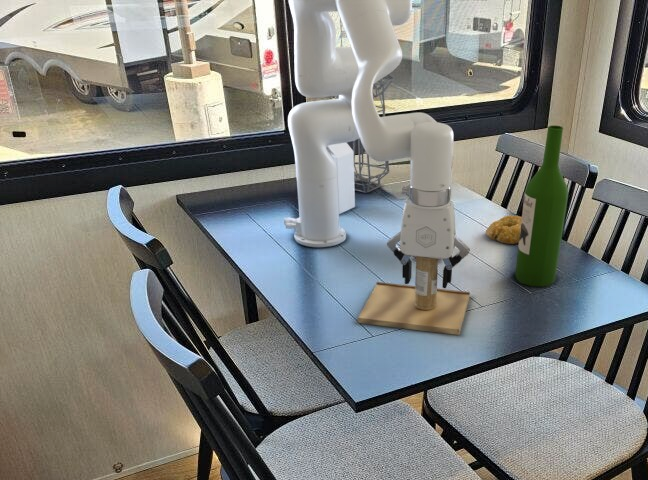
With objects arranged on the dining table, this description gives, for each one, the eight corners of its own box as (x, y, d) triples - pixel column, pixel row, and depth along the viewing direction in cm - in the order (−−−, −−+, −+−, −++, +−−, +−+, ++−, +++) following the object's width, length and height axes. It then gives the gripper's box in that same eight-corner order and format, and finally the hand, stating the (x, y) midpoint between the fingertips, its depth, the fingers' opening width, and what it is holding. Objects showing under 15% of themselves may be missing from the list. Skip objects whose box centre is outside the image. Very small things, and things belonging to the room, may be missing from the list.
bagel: (484, 229, 176) (485, 211, 173) (526, 231, 176) (529, 213, 173) (486, 244, 168) (487, 226, 165) (531, 246, 168) (533, 227, 165)
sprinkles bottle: (440, 308, 137) (444, 245, 130) (420, 312, 135) (422, 249, 128) (430, 298, 140) (432, 236, 133) (410, 302, 139) (411, 240, 131)
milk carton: (355, 207, 187) (353, 135, 176) (339, 214, 182) (336, 141, 171) (334, 202, 190) (331, 131, 179) (318, 209, 185) (314, 137, 174)
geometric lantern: (367, 199, 192) (365, 64, 172) (323, 188, 199) (317, 56, 179) (399, 185, 203) (400, 56, 183) (356, 175, 210) (353, 49, 190)
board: (357, 322, 134) (357, 316, 133) (377, 287, 147) (377, 281, 146) (459, 335, 131) (459, 328, 130) (469, 297, 144) (470, 291, 143)
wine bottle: (507, 273, 154) (524, 123, 136) (541, 267, 158) (562, 120, 139) (527, 289, 148) (548, 134, 129) (562, 283, 151) (587, 131, 132)
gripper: (379, 197, 123) (379, 286, 133) (474, 206, 121) (467, 296, 131) (388, 184, 129) (388, 270, 139) (479, 192, 127) (472, 280, 137)
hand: (426, 282), depth 135 cm, fingers open, 6 cm apart
